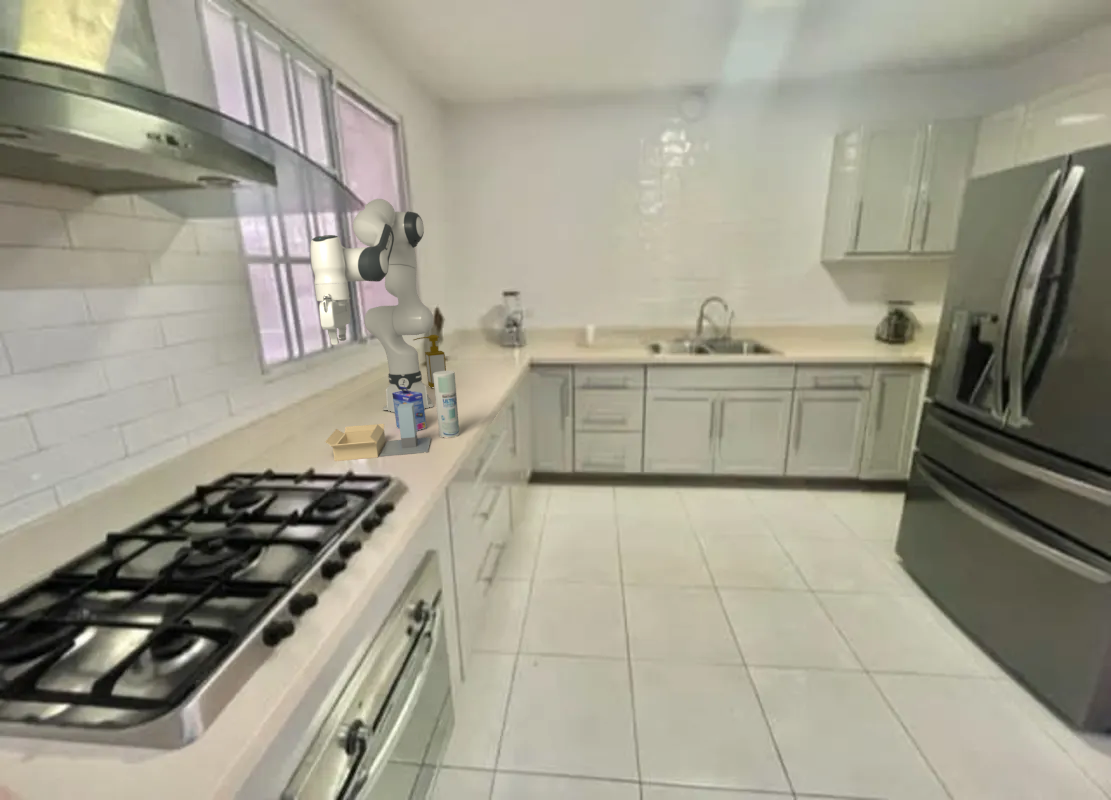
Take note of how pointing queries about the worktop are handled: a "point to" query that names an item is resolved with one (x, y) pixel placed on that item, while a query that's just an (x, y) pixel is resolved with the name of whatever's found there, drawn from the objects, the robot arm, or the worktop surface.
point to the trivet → (396, 448)
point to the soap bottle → (434, 359)
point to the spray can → (446, 403)
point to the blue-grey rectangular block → (407, 425)
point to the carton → (357, 442)
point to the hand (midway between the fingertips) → (339, 342)
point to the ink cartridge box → (410, 397)
